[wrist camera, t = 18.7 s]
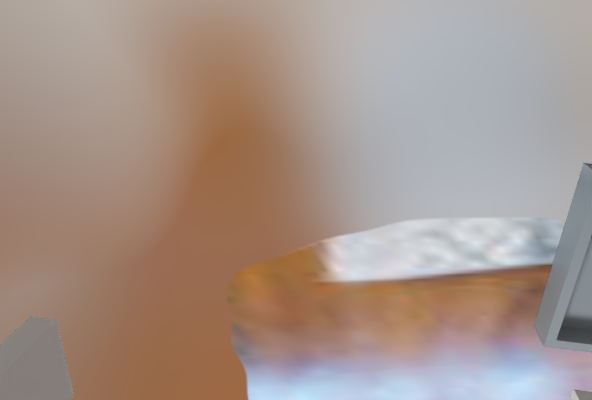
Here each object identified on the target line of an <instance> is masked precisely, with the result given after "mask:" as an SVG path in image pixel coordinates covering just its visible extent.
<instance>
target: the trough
mask: <svg viewBox="0 0 592 400" xmlns="http://www.w3.org/2000/svg"><path fill="white" fill-rule="evenodd" d="M591 236H592V164H586V163H584V164H583V167H582V170H581V174H580V177H579V181H578V183H577V187H576V190H575V194H574V197H573V200H572V203H571V206H570V210H569V213H568V216H567V219H566V223H565V226H564V229H563V232H562V236H561V239H560V242H559V245H558V249H557V252H556V255H555V258H554V262H553V265H552V268H551V272H550V275H549V278H548V281H547V285H546V288H545V291H544V294H543V298H542V301H541V304H540V307H539V311H538V314H537V317H536V320H535V324H534V328H535V330H536V332H537V334H538V336H539V338H540V340H541V342H542V344H543V346H544V347H552V348H560V349H568V350H576V351H584V352H592V238H591Z"/></svg>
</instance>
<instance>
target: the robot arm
mask: <svg viewBox="0 0 592 400" xmlns="http://www.w3.org/2000/svg"><path fill="white" fill-rule="evenodd" d="M73 396H74V393H73V388H72V384H71V380H70V376H69V371H68V367H67V363H66V358H65V354H64V350H63V345H62V341H61V337H60V333H59V328H58V324H57V320H53V319H46V318H38V317H30V318H29V319H28V320H26V322H25V323H23V324H22V325H21V326H20V327H19V328H18V329H17V330H15V331H14V332H13V333H12V334H11V335H10V336H9V337H8V338H7V339H6V340H4V341H3V342H2V343H1V344H0V400H71V398H72V397H73ZM570 400H592V392H587V391H580V390H574V391H573V393H572V396H571V399H570Z"/></svg>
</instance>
